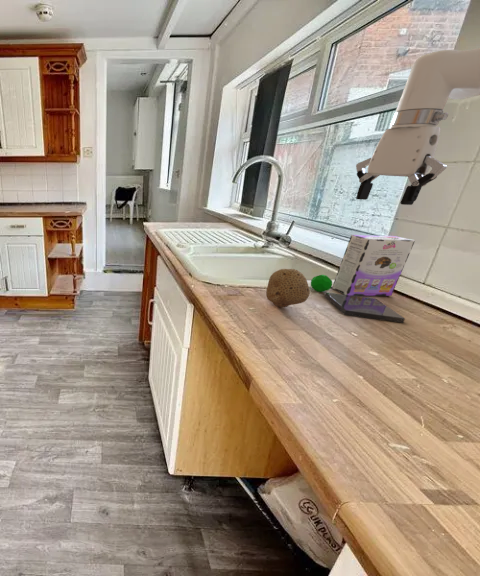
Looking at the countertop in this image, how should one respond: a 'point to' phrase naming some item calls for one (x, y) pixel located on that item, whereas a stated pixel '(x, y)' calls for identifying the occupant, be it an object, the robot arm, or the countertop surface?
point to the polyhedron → (321, 283)
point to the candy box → (372, 265)
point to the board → (363, 307)
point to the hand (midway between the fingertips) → (382, 201)
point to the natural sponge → (287, 288)
